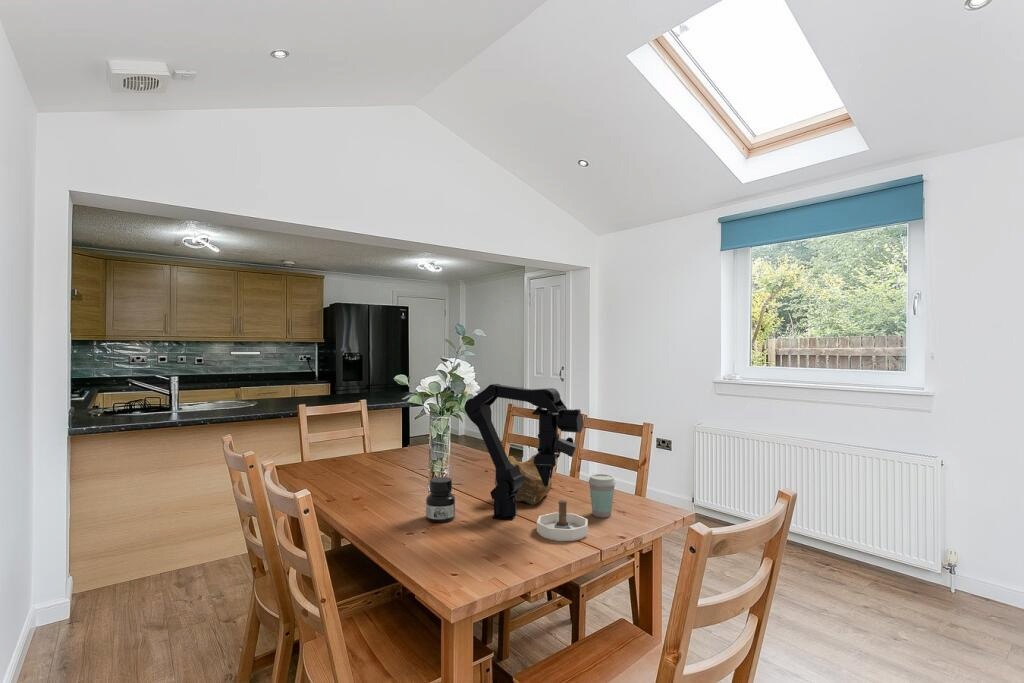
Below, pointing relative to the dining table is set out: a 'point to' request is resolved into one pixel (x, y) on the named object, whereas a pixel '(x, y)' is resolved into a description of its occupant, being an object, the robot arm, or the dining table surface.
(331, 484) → the dining table surface
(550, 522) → the octagonal white tray
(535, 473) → the tan rock
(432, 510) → the ink bottle
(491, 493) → the robot arm
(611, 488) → the coffee cup
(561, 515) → the tall wooden post
